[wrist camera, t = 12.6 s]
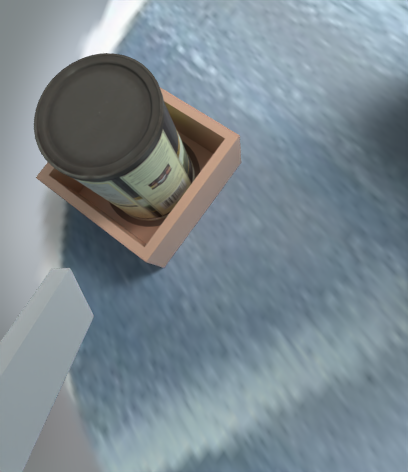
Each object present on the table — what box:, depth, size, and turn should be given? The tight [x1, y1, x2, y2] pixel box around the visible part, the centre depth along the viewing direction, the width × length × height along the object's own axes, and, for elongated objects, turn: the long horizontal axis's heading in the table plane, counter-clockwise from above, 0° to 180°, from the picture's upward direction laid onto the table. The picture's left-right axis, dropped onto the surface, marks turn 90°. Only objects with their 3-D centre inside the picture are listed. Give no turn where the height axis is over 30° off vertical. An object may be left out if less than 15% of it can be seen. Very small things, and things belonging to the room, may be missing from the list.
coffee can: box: [34, 53, 194, 221], centre depth 31 cm, size 10×10×14 cm
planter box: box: [36, 88, 241, 268], centre depth 35 cm, size 15×15×6 cm
